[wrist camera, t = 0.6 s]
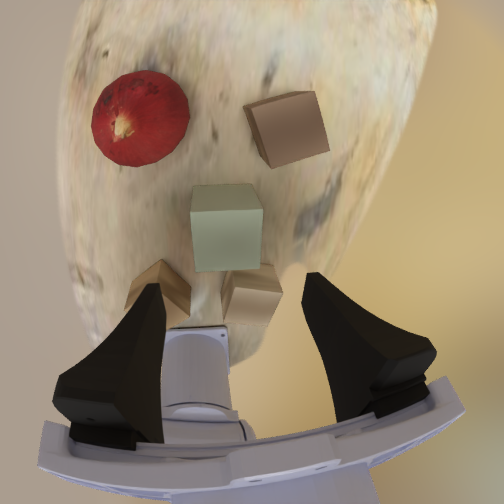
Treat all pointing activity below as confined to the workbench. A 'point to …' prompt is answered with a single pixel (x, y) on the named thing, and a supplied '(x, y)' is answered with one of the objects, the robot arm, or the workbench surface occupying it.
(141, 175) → the workbench surface
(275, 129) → the walnut block
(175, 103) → the onion
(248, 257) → the sage block
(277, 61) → the workbench surface
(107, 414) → the robot arm
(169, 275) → the oak block
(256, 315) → the maple block
